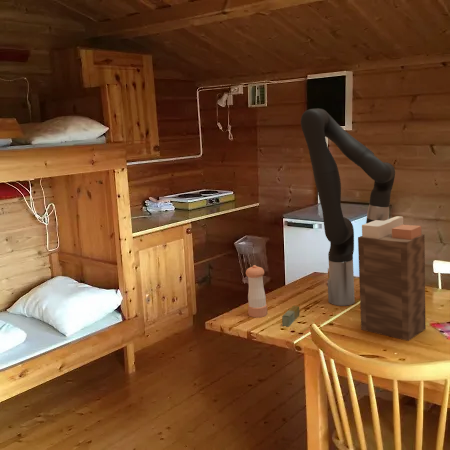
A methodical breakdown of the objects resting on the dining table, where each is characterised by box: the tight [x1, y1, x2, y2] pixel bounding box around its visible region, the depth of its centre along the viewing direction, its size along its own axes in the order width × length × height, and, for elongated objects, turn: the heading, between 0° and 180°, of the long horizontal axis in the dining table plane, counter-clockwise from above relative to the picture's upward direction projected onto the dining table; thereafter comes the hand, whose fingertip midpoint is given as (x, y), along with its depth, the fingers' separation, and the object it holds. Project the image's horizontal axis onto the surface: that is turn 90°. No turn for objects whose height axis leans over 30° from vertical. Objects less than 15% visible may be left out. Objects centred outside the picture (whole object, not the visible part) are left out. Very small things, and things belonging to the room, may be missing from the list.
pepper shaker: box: [245, 264, 268, 318], centre depth 206 cm, size 7×7×19 cm
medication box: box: [281, 305, 300, 328], centre depth 198 cm, size 12×3×4 cm, turn 154°
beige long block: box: [361, 215, 404, 239], centre depth 183 cm, size 20×6×4 cm, turn 135°
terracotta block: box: [392, 224, 423, 240], centre depth 174 cm, size 7×6×3 cm
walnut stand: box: [357, 234, 427, 342], centre depth 180 cm, size 12×17×32 cm
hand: (372, 260), depth 201 cm, fingers open, 8 cm apart
